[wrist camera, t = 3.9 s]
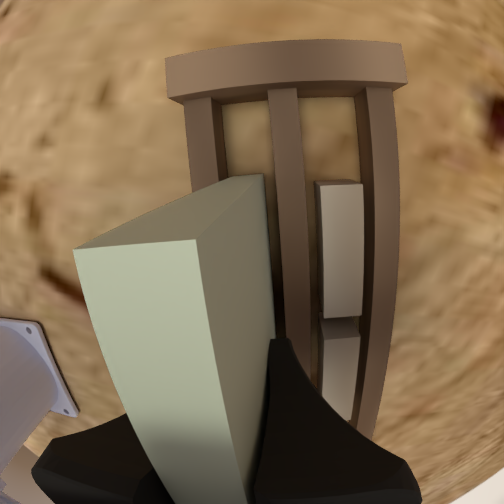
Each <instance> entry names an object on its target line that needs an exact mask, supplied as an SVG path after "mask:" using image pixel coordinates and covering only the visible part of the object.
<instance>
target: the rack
mask: <svg viewBox="0 0 504 504" xmlns="http://www.w3.org/2000/svg"><path fill="white" fill-rule="evenodd" d="M165 67H166V84H167V98H169V99H171V100H173V101H175V102H177V103H180V104H182V105H184V114H185V125H186V136H187V146H188V156H189V166H190V175H191V184H192V193H193V192H196V191H198V190H200V189H203V188H205V187H208V186H210V185H212V184H215V183H217V182H220V181H222V180H225V179H227V178H228V173H227V163H226V153H225V142H224V132H223V121H222V111H221V105H225V104H233V103H242V102H251V101H262V100H268V101H269V111H270V121H271V131H272V142H273V153H274V164H275V176H276V188H277V201H278V214H279V227H280V241H281V256H282V271H283V287H284V304H285V323H286V338H289V339H290V340H291V342H292V346H293V349H294V352H295V354H296V356H297V358H298V360H299V362H300V364H301V366H302V368H303V369H304V371H305V373H306V374H307V376H308V377H309V379H310V380H311V310H310V271H309V245H308V224H307V206H306V191H305V176H304V163H303V151H302V139H301V128H300V118H299V108H298V99H297V98H307V97H354V101H355V110H356V120H357V130H358V142H359V156H360V173H361V184H363V202H364V272H363V298H362V315H360V322H359V334H360V348H359V359H358V368H357V377H356V385H355V393H354V401H353V408H352V415H351V420H349V424H350V425H352V426H353V427H354V428H355V429H356V430H358V431H359V432H360V433H361V434H363V435H364V436H365V437H367V438H368V439H369V440H372V436H373V432H374V428H375V423H376V419H377V415H378V410H379V405H380V401H381V396H382V391H383V386H384V380H385V375H386V369H387V363H388V357H389V350H390V343H391V336H392V328H393V320H394V311H395V301H396V289H397V276H398V260H399V234H400V185H399V159H398V143H397V130H396V120H395V110H394V101H393V93H392V92H393V91H395V90H396V89H398V88H400V87H402V86H404V85H406V84H408V80H407V74H406V68H405V62H404V56H403V51H402V46H401V44H399V43H390V42H379V41H364V40H336V39H315V40H287V41H272V42H260V43H251V44H242V45H234V46H227V47H220V48H214V49H208V50H202V51H196V52H191V53H186V54H181V55H177V56H172V57H168V58H165Z"/></svg>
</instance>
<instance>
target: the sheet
mask: <svg viewBox="0 0 504 504" xmlns="http://www.w3.org/2000/svg"><path fill="white" fill-rule="evenodd" d="M73 254H74V258H75V262H76V267H77V271H78V275H79V279H80V283H81V286H82V290H83V294H84V297H85V301H86V304H87V308H88V311H89V315H90V318H91V321H92V324H93V327H94V330H95V333H96V336H97V339H98V342H99V345H100V348H101V351H102V354H103V357H104V359H105V362H106V365H107V367H108V370H109V373H110V375H111V378H112V380H113V383H114V385H115V388H116V390H117V392H118V395H119V397H120V399H121V402H122V404H123V406H124V409H125V411H126V413H127V415H128V417H129V420H130V422H131V424H132V426H133V428H134V430H135V432H136V434H137V436H138V438H139V440H140V442H141V444H142V446H143V448H144V450H145V452H146V454H147V456H148V458H149V460H150V461H151V463H152V465H153V467H154V469H155V470H156V472H157V474H158V476H159V478H160V479H161V481H162V483H163V484H164V486H165V488H166V489H167V491H168V493H169V494H170V496H171V498H172V499H173V501H174V502H175V504H256V499H255V494H254V485H255V481H256V477H257V473H258V468H259V464H260V459H261V454H262V448H263V443H264V437H265V431H266V424H267V417H268V409H269V400H270V376H269V363H268V350H269V343H270V339H277V338H276V323H275V309H274V295H273V281H272V268H271V255H270V243H269V230H268V218H267V206H266V194H265V183H264V174H252V175H241V176H232V177H230V178H227V179H225V180H222V181H220V182H217V183H215V184H212V185H210V186H208V187H205V188H203V189H200V190H198V191H196V192H193V193H191V194H189V195H186V196H184V197H182V198H180V199H177V200H175V201H173V202H170V203H168V204H166V205H164V206H161V207H159V208H157V209H155V210H153V211H150V212H148V213H146V214H144V215H142V216H140V217H138V218H135V219H133V220H131V221H129V222H127V223H125V224H123V225H121V226H119V227H117V228H115V229H113V230H110V231H108V232H106V233H104V234H102V235H100V236H98V237H96V238H94V239H92V240H90V241H88V242H87V243H85V244H83V245H81V246H79V247H77V248H75V249H73Z"/></svg>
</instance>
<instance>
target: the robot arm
mask: <svg viewBox="0 0 504 504" xmlns="http://www.w3.org/2000/svg"><path fill="white" fill-rule="evenodd" d="M268 363H269V376H270V400H269V409H268V417H267V424H266V431H265V437H264V443H263V448H262V454H261V459H260V464H259V468H258V473H257V477H256V481H255V485H254V494H255V499H256V504H421V502H422V497H421V492H420V488H419V485H418V483H417V481H416V479H415V477H414V475H413V473H412V471H411V469H410V467H409V466H408V464H407V462H406V461H405V460H404V459H402V458H400V457H398V456H396V455H394V454H392V453H391V452H389V451H387V450H385V449H383V448H381V447H380V446H378V445H377V444H375V443H374V442H372V441H371V440H369V439H368V438H367V437H365V436H364V435H363V434H361V433H360V432H359V431H358V430H356V429H355V428H354V427H353V426H352V425H350V424H349V423H348V422H347V421H346V420H344V419H343V418H342V417H341V416H340V415H339V414H338V413H337V412H336V411H335V410H334V409H333V408H332V407H331V406H330V405H329V403H328V402H327V401H326V400H325V399H324V398H323V396H322V395H321V394H320V393H319V391H318V390H317V389H316V387H315V386H314V385H313V383H312V382H311V380H310V379H309V377H308V376H307V374H306V373H305V371H304V369H303V368H302V366H301V364H300V362H299V360H298V358H297V356H296V354H295V352H294V349H293V346H292V342H291V340H290V339H289V338H278V339H270V343H269V350H268ZM49 410H50V411H53V412H56V413H60V414H63V415H67V416H71V417H77V416H78V414H79V412H78V410H77V408H76V406H75V404H74V402H73V400H72V398H71V396H70V394H69V392H68V390H67V388H66V386H65V384H64V382H63V380H62V377H61V375H60V373H59V371H58V369H57V366H56V364H55V362H54V359H53V357H52V355H51V352H50V350H49V347H48V345H47V342H46V340H45V337H44V334H43V332H42V329H41V327H40V326H39V324H37V323H36V322H31V321H22V320H13V319H5V318H0V474H1V473H2V472H3V470H4V469H5V468H6V466H7V465H8V463H9V462H10V461H11V459H12V458H13V457H14V455H15V454H16V452H17V451H18V450H19V449H20V447H21V446H22V445H23V444H24V442H25V441H26V440H27V438H28V437H29V436H30V434H31V433H32V432H33V431H34V429H35V428H36V427H37V425H38V424H39V423H40V422H41V420H42V419H43V418H44V417H45V415H46V414H47V413H48V412H49ZM31 471H32V472H31V473H32V476H33V479H34V480H35V482H36V484H37V485H38V486H39V487H40V488H41V490H42V491H43V492H44V493H45V494H46V495H47V496H48V497H49V498H50V499H51V500H52V501H53V502H54V503H55V504H175V502H174V501H173V499H172V498H171V496H170V494H169V493H168V491H167V489H166V488H165V486H164V484H163V483H162V481H161V479H160V478H159V476H158V474H157V472H156V470H155V469H154V467H153V465H152V463H151V461H150V460H149V458H148V456H147V454H146V452H145V450H144V448H143V446H142V444H141V442H140V440H139V438H138V436H137V434H136V432H135V430H134V428H133V426H132V424H131V422H130V420H129V417H128V415H127V413H125V414H124V415H122V416H120V417H118V418H116V419H113V420H111V421H109V422H106V423H104V424H102V425H99V426H96V427H94V428H91V429H88V430H85V431H82V432H78V433H74V434H71V435H67V436H63V437H59V438H54V439H52V440H51V442H50V443H49V445H48V446H47V448H46V449H45V450H44V452H43V453H42V455H41V456H40V458H39V459H38V461H37V462H36V464H35V465H34V467H33V468H32V470H31ZM5 486H6V483H5V482H4V481H3V480H2V479H1V478H0V504H21V503H20V502H18V501H16V500H15V499H13V498H11V497H10V496H8V495H6V494H5V493H3V492H2V490H3V489H4V487H5Z"/></svg>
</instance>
